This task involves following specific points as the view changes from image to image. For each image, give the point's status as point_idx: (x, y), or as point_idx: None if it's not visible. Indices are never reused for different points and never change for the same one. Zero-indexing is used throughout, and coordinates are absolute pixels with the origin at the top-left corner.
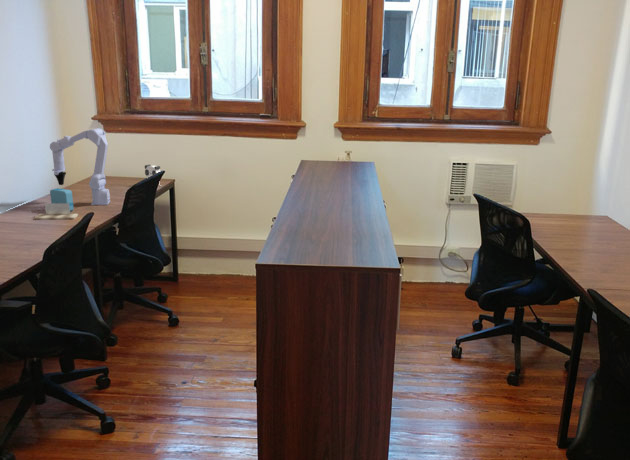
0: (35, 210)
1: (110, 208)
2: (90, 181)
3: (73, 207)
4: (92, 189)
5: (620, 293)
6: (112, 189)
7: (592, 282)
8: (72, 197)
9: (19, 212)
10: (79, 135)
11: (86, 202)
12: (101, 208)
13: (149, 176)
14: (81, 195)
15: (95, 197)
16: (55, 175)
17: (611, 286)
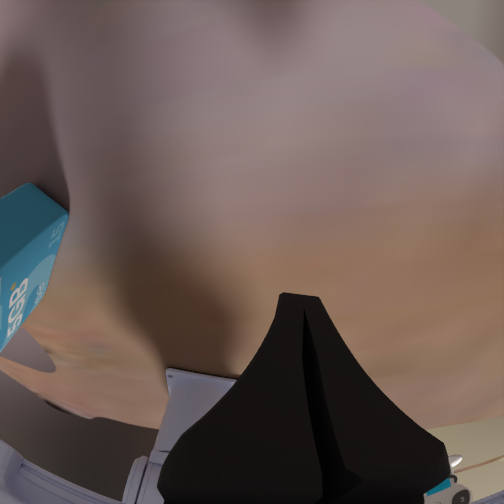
0: (29, 69)
1: (119, 408)
2: (123, 496)
3: (34, 307)
4: (151, 453)
5: None
6: (497, 394)
7: None
8: (3, 347)
9: (6, 2)
10: None
11: (242, 349)
12: (112, 389)
13: (449, 493)
14: (466, 303)
15: (163, 417)
16: (185, 440)
17: None
